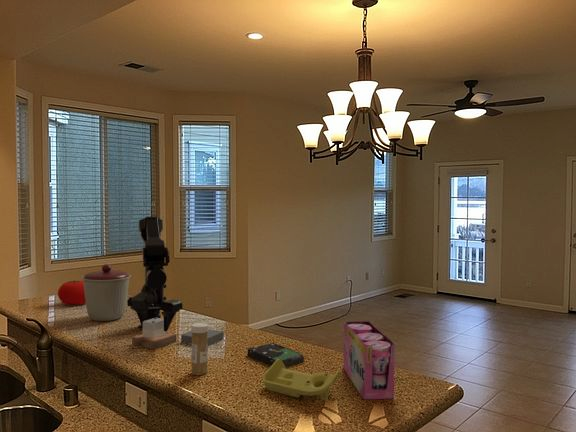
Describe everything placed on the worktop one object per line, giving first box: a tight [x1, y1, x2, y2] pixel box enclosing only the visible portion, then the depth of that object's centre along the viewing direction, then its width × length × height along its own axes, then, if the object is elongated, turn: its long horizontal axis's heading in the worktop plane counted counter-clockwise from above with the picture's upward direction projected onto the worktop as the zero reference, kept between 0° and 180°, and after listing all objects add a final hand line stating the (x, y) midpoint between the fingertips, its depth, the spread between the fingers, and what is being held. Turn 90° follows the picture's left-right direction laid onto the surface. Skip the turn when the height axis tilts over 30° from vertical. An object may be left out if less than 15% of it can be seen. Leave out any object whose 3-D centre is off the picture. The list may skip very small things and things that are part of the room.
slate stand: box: [180, 328, 225, 347], centre depth 167 cm, size 10×10×2 cm
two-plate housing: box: [142, 317, 167, 339], centre depth 163 cm, size 6×4×5 cm
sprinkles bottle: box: [190, 322, 209, 376], centre depth 137 cm, size 5×5×14 cm
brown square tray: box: [131, 332, 177, 350], centre depth 163 cm, size 10×10×2 cm
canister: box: [80, 263, 132, 322], centre depth 194 cm, size 18×18×21 cm
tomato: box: [57, 280, 86, 306], centre depth 217 cm, size 14×13×10 cm
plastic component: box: [261, 359, 341, 401], centre depth 125 cm, size 20×7×10 cm
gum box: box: [342, 320, 396, 400], centre depth 131 cm, size 24×8×14 cm, turn 7°
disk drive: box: [247, 342, 305, 368], centre depth 150 cm, size 10×3×15 cm
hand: (154, 329), depth 163 cm, fingers open, 9 cm apart
